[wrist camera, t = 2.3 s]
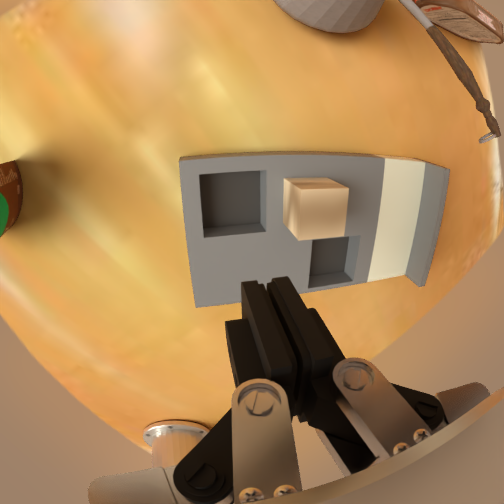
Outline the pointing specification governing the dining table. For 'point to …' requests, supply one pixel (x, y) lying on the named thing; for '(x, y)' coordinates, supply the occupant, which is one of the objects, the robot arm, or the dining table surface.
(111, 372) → the dining table surface
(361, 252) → the board
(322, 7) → the coffee pot
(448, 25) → the tin
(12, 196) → the food container
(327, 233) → the block
